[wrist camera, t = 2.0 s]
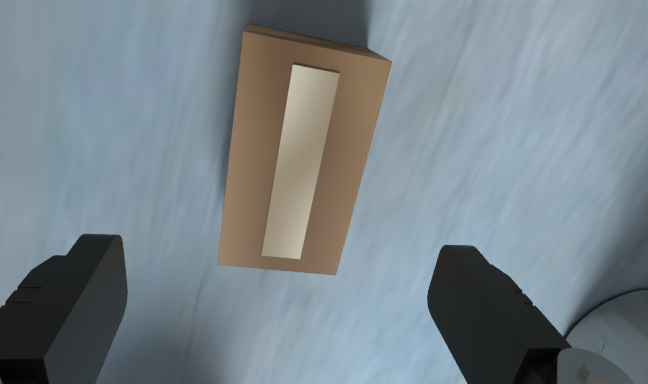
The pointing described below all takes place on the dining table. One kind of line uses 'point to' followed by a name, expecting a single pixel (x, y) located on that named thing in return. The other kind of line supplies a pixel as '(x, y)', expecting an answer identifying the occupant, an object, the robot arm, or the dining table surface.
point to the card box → (297, 149)
